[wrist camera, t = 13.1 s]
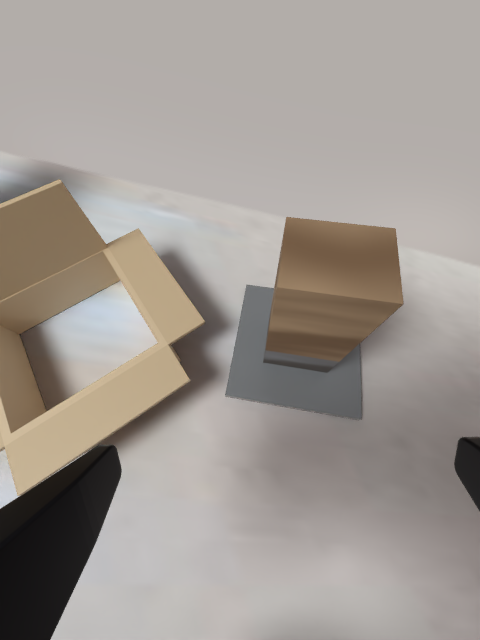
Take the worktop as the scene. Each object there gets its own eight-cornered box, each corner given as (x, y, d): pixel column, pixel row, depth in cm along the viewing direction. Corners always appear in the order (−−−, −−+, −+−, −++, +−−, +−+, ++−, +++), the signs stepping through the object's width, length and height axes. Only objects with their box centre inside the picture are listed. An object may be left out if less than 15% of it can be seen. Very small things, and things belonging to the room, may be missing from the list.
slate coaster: (358, 420, 19) (361, 419, 19) (225, 396, 20) (225, 395, 20) (356, 303, 23) (359, 299, 23) (246, 288, 24) (246, 284, 24)
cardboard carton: (231, 369, 21) (219, 313, 12) (20, 515, 17) (-229, 594, 8) (153, 258, 26) (104, 160, 17) (-24, 351, 22) (-207, 289, 13)
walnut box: (327, 372, 20) (403, 303, 10) (263, 362, 21) (277, 287, 11) (328, 326, 22) (395, 228, 12) (269, 317, 22) (286, 217, 12)
